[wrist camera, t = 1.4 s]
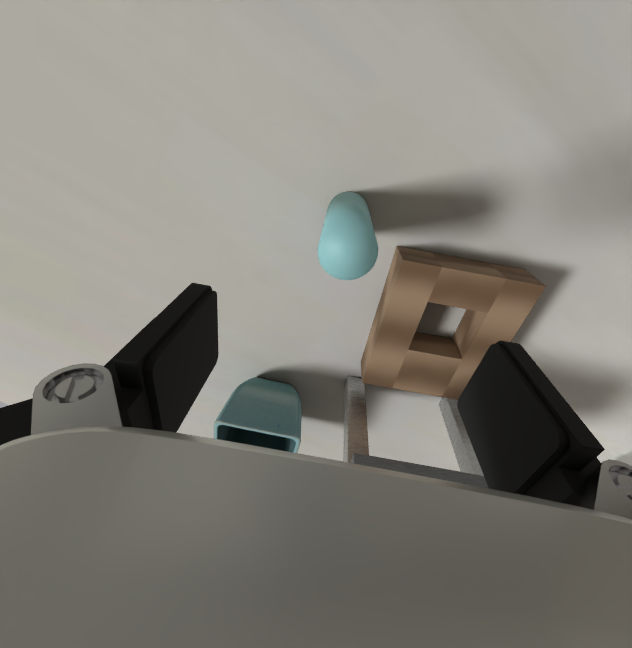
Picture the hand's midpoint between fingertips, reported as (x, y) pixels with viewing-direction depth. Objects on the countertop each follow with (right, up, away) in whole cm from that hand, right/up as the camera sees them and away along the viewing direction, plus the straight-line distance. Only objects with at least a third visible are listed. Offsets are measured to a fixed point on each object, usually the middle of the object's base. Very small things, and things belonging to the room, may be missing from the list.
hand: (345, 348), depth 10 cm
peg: (+2, +10, +16) cm, 19 cm away
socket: (+11, +1, +21) cm, 24 cm away
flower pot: (-7, -8, +29) cm, 31 cm away
